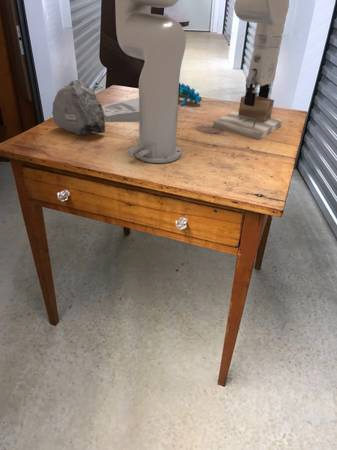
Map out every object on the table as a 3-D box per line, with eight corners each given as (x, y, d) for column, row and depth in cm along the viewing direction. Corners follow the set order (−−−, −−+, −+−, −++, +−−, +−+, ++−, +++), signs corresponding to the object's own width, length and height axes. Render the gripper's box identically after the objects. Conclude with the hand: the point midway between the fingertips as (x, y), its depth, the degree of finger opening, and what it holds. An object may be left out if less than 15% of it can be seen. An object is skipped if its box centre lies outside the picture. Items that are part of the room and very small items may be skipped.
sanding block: (263, 122, 112) (267, 103, 109) (238, 116, 117) (241, 97, 113) (270, 118, 116) (274, 99, 112) (245, 112, 120) (248, 94, 117)
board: (259, 139, 106) (260, 133, 105) (213, 127, 113) (213, 120, 112) (281, 126, 116) (282, 120, 115) (237, 115, 124) (238, 109, 123)
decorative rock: (108, 136, 104) (105, 82, 95) (92, 143, 99) (88, 86, 90) (67, 124, 111) (61, 72, 102) (51, 130, 106) (42, 76, 97)
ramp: (85, 120, 115) (83, 103, 112) (103, 106, 128) (102, 90, 125) (170, 130, 111) (170, 113, 108) (180, 115, 123) (181, 99, 120)
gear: (207, 101, 131) (192, 82, 124) (198, 114, 131) (183, 97, 124) (188, 98, 139) (172, 80, 132) (180, 111, 139) (164, 94, 132)
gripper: (266, 46, 96) (254, 110, 106) (290, 41, 108) (277, 100, 117) (241, 42, 100) (232, 105, 109) (267, 38, 111) (257, 95, 121)
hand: (255, 102), depth 113 cm, fingers open, 9 cm apart
